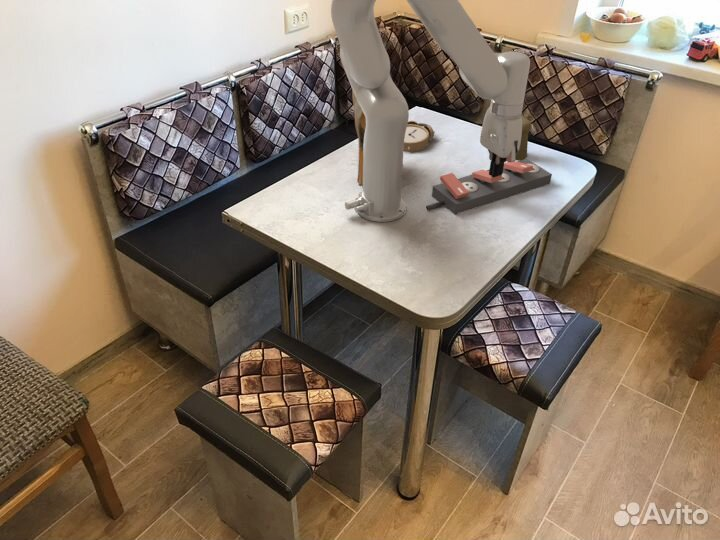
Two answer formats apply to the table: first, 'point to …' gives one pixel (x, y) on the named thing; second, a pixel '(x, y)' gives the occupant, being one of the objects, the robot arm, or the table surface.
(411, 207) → the table surface
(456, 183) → the outlet rocker
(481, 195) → the power strip
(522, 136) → the cork
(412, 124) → the alarm clock
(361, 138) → the pancake mix bag
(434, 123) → the table surface
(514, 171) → the rocker outlet
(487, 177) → the outlet rocker
